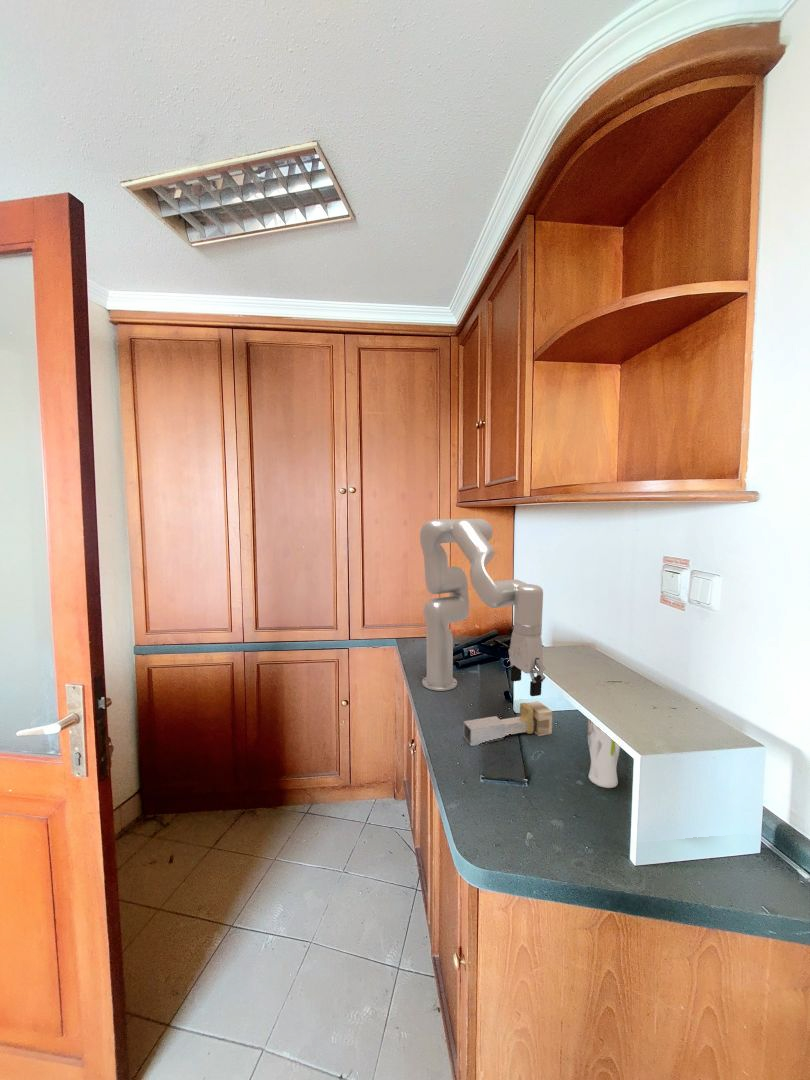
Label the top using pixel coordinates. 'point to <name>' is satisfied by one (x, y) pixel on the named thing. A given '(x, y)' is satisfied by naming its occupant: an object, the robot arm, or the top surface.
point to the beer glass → (602, 757)
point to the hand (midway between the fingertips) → (525, 687)
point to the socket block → (542, 718)
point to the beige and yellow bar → (521, 721)
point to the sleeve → (483, 730)
